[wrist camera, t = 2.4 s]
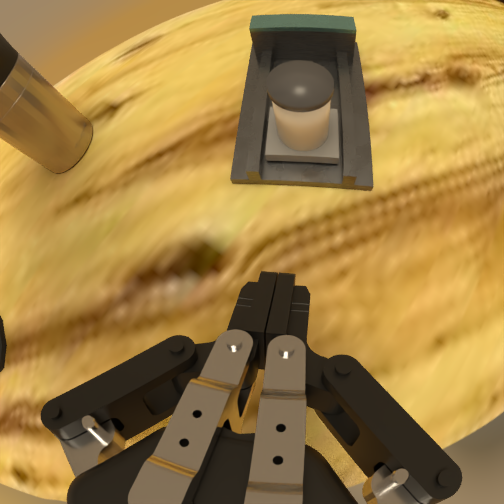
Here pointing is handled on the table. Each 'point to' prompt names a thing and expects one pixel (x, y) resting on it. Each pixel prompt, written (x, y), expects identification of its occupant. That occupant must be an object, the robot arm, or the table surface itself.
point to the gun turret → (2, 345)
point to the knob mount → (344, 100)
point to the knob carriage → (301, 114)
